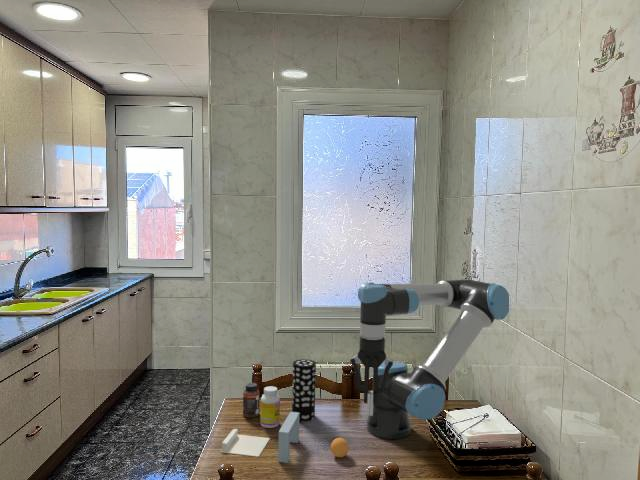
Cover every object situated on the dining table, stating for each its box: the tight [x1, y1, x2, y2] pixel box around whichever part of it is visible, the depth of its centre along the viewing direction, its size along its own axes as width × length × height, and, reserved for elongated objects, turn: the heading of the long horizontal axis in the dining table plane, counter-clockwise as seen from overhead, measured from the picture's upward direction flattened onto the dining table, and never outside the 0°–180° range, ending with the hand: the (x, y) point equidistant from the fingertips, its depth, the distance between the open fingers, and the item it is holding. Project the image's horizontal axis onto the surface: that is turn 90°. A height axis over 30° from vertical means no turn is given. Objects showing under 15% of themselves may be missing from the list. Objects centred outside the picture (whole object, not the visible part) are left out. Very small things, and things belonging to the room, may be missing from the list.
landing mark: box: [220, 433, 271, 458], centre depth 151 cm, size 12×12×1 cm
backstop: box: [221, 428, 239, 451], centre depth 151 cm, size 2×10×2 cm, turn 170°
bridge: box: [277, 411, 300, 463], centre depth 148 cm, size 3×14×9 cm, turn 169°
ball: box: [330, 437, 350, 458], centre depth 145 cm, size 6×6×6 cm
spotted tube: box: [291, 358, 317, 422], centre depth 172 cm, size 8×8×20 cm
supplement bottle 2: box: [259, 385, 281, 429], centre depth 165 cm, size 7×7×13 cm
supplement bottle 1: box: [242, 382, 260, 419], centre depth 173 cm, size 6×6×11 cm
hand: (370, 413), depth 143 cm, fingers closed
